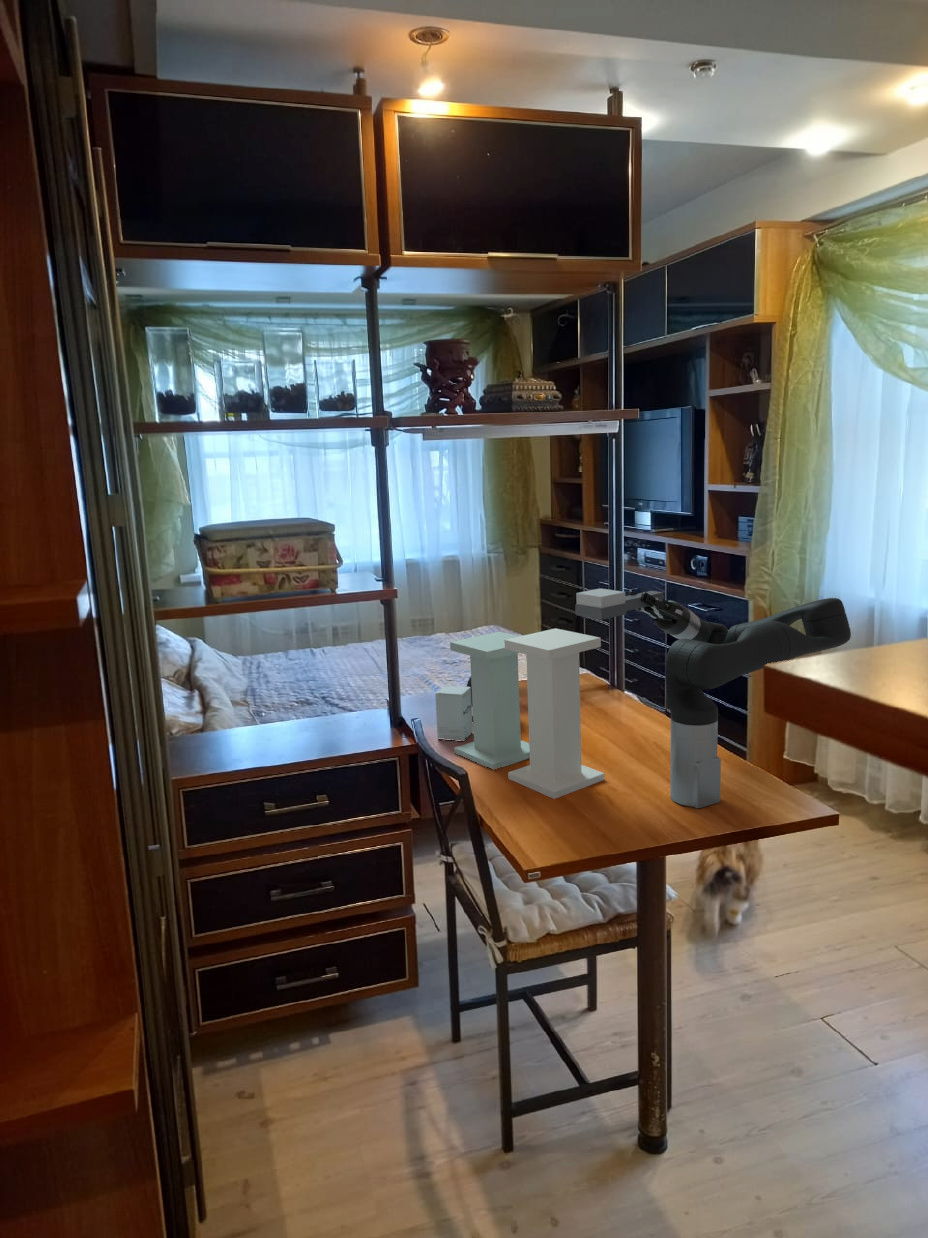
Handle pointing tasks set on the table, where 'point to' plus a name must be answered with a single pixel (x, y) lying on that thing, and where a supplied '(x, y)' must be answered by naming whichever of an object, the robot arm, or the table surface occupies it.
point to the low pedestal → (493, 701)
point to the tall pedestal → (554, 712)
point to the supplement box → (454, 712)
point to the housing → (608, 603)
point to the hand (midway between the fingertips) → (636, 595)
